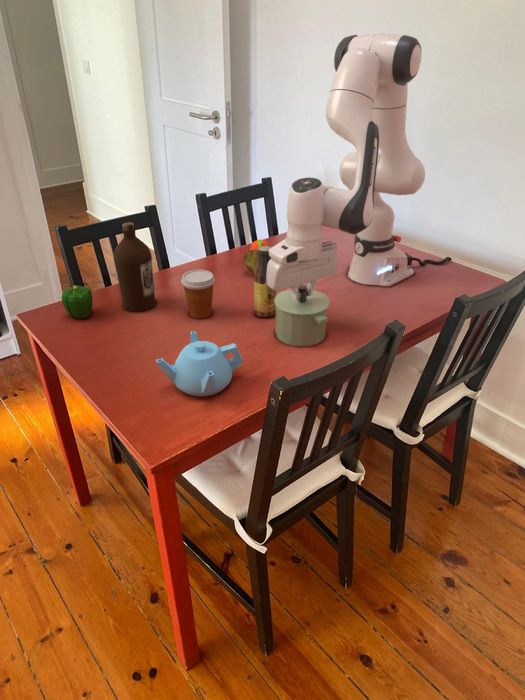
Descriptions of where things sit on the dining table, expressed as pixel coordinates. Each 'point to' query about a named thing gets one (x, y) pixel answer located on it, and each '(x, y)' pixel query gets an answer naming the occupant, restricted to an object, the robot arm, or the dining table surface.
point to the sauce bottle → (263, 286)
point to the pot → (300, 328)
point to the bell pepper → (77, 301)
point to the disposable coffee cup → (198, 292)
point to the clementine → (258, 244)
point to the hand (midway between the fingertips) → (302, 296)
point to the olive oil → (134, 271)
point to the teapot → (202, 367)
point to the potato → (251, 260)
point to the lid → (302, 302)
